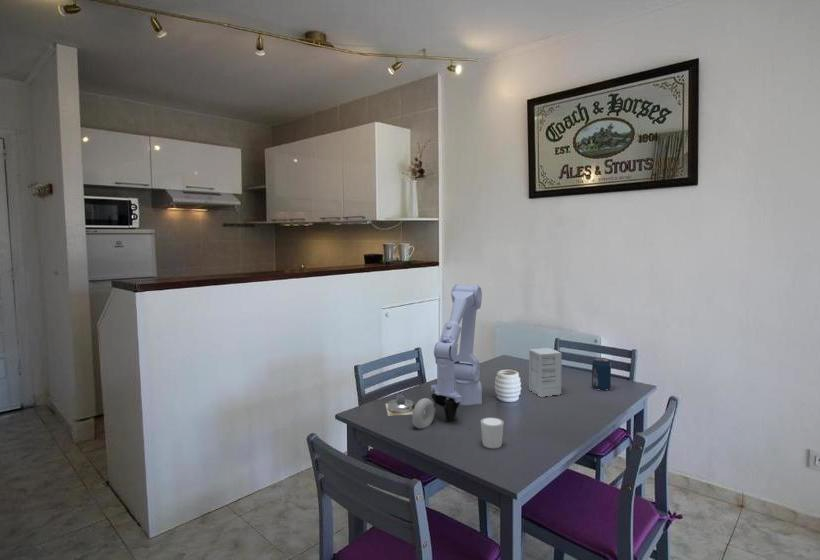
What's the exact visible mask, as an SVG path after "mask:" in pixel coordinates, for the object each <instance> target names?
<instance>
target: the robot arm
mask: <svg viewBox="0 0 820 560" xmlns="http://www.w3.org/2000/svg"><path fill="white" fill-rule="evenodd" d="M450 292H451V293H450V294H451V295H450V296H451V300H452V308H451V313H450V317H449V321H447V322H446V323H445V324H444V327H443V330H442V332H441V336H440V339H439V341H438V342H436V343H435V345H434V348H433V356H434V358H435V359H434V360H435V364H436V372H437V373H436V376H437V377H436V382H437V383H435V384H432V385H430V391H431V392H434V393H432V394H431V395H430V396H431V397H430V398H432V401H434V402H435V403H438V402H442V401H444V403H445V405H446V409H447V418H448V420H449V421H448V422H450V421H454V420H455V419H454V418H455V414H456V410H457V409H458V408H459V405H460V406H472V405H473V406H474V405H483V404H482V403H483V400H482V399H483V397H482V395H483V393H482V392H483V390H482V389H483V387H482V383H481V381H480V380H479V379H480V376H481V368H480V364H481V363H480V360H479V359H478V358H477V357H476V356H474V343H475V341H474V340H475V331H476V329H475V328H476V319H477V318H476V317H477V311H478V310H479V309H481V307H482V298H483V297H482V296H483V292H482V288H481V286H480V285H478V284H477V285H471V284H469V285H468V284H457V283H455V284H454V285H453V286H452V288H451V291H450ZM460 324H461V325H460ZM459 337H460V340H459ZM458 341H460V342H459V343H458ZM458 347H459V352H458ZM447 398H448V399H447ZM435 405H436V404H435Z"/></svg>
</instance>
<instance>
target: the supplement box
mask: <svg viewBox="0 0 820 560" xmlns="http://www.w3.org/2000/svg"><path fill="white" fill-rule="evenodd" d="M562 354H563V353H562V352H560V351H558V350H555V349H554V348H550V347H542V348H541V347H540V348H529V349H528V358H529V359H528V365H529V366H528V391H529V390H530V392H531V391H532V392H531V393H533V394H534V393H535V394H534V395H536V394H537V395H538V397H539V396H540V397H539V398H544V397H545V396H548V397H553V396H552V395H558V396H560V395H559V394H561V395H562V360H563V359H562ZM537 395H536V396H537ZM545 398H546V397H545Z"/></svg>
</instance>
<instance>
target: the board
mask: <svg viewBox="0 0 820 560" xmlns="http://www.w3.org/2000/svg"><path fill="white" fill-rule="evenodd" d="M384 404H385V409H386V412H387V416H388V417H390V416H392V417H393V416H408V415H411V416H412V415H413V410H414V408H413V410H412V411H410V412H407V413H393V412H390V411H389V410H388V402H386V403H384ZM424 412H425V411H424ZM435 414H436V408H435ZM423 415H424V413H423Z"/></svg>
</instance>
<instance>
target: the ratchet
mask: <svg viewBox="0 0 820 560" xmlns="http://www.w3.org/2000/svg"><path fill="white" fill-rule="evenodd" d="M431 401H432V402H433V404H434V407H435V408H436V405H435V402H434V400H431ZM417 402H418V401H413V400H411V399H407V398H405V395H404V394H396V398H394V399H391V400H388V402H387V403H388V410H389V411H390V412H393V413H407V412H410V411H412V410H413V408H414V407H415V405H416V404H417Z"/></svg>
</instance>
